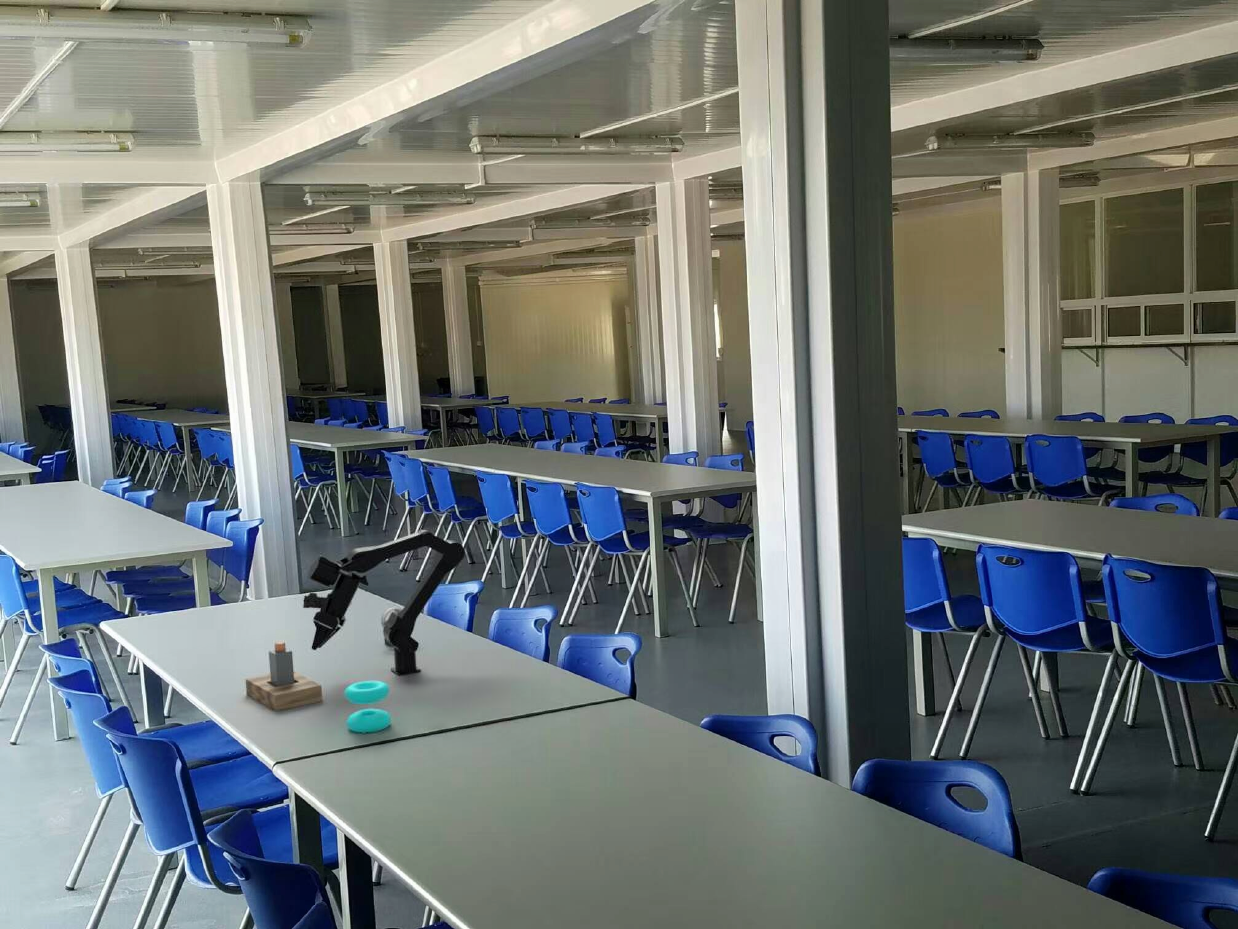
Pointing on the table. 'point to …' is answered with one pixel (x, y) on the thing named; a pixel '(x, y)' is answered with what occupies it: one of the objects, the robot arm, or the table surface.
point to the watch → (385, 620)
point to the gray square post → (281, 665)
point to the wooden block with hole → (284, 692)
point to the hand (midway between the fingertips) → (315, 648)
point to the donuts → (369, 717)
